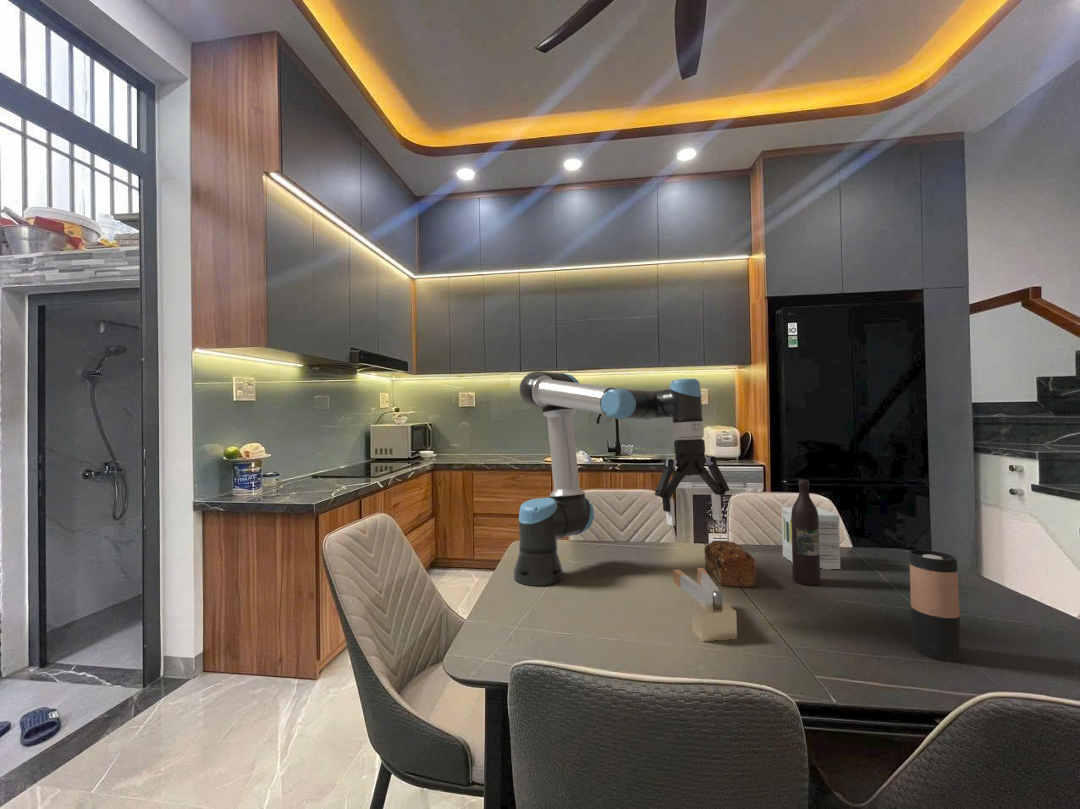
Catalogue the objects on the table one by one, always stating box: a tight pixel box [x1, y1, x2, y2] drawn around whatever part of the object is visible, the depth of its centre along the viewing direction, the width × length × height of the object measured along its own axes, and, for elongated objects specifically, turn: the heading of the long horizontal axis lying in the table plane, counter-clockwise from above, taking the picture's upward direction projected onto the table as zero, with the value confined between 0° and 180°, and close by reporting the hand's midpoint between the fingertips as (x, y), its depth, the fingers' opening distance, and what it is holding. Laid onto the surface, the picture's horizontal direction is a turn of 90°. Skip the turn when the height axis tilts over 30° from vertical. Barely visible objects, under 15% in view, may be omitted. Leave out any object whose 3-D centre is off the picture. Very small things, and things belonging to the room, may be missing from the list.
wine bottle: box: [791, 479, 821, 587], centre depth 135 cm, size 7×7×30 cm
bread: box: [703, 540, 757, 588], centre depth 140 cm, size 19×11×10 cm, turn 173°
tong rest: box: [672, 569, 738, 642], centre depth 109 cm, size 20×8×9 cm, turn 8°
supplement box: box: [781, 506, 841, 570], centre depth 152 cm, size 13×13×18 cm
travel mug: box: [909, 549, 961, 663], centre depth 94 cm, size 8×8×20 cm
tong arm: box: [696, 567, 723, 609], centre depth 110 cm, size 18×2×3 cm, turn 173°
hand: (694, 522), depth 116 cm, fingers open, 13 cm apart
